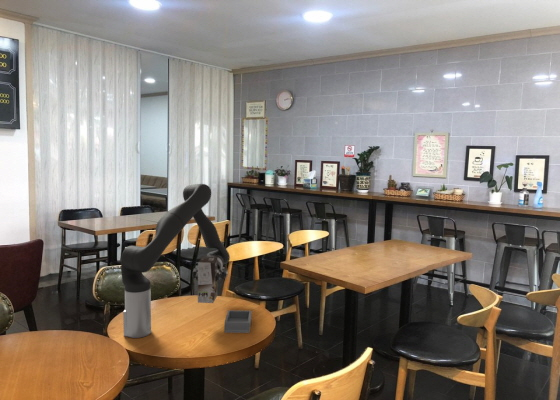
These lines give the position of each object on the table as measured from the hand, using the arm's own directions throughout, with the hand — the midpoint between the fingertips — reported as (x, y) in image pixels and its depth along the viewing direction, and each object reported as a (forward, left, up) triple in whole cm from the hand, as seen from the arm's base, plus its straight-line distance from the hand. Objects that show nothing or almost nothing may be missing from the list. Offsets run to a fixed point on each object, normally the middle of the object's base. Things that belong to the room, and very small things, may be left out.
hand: (207, 278), depth 169 cm
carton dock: (+12, +2, -20) cm, 23 cm away
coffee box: (0, +2, -9) cm, 9 cm away
